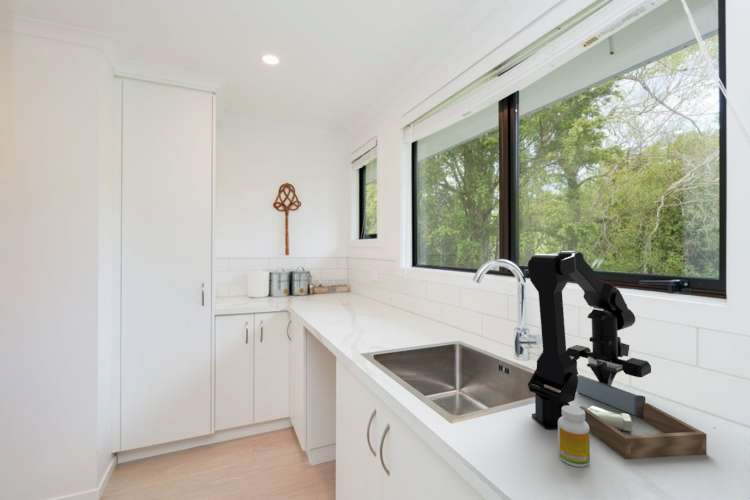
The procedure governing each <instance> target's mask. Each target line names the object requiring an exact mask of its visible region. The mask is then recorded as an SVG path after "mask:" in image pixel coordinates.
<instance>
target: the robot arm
mask: <svg viewBox="0 0 750 500" xmlns="http://www.w3.org/2000/svg"><path fill="white" fill-rule="evenodd" d="M527 271H528V275H529V276H528V277H529V280H530V282H531V284H532V285H533V286H534V288H535V289H536V291H537V293H538V303H539V304H538V305H539V316H540V328H541V329H540V331H541V341H542V352H541V354H540V355H539V357H538V358H537V360H536V369H535V370H534V372H533V374H532V376H531V378H530V379H529V381H528V383H527V386H528V391H529V393H530V392H531V393H534V396H535V397H534V398H535V402H534V404H535V406H534V407H535V408H534V409H535V412H534V413H531V417H532V418H533V419H534V420H536V421H537V423H539V424H540V425H541V426H542V427H543V428H544V429H546V430H553V429H554V430H558V420H559V418H560V417H562V407H563V406H567V405H570V406H571V404H570V403H571V402H574V401H575V399H576V393H577V385H578V377H577V376H578V375H579V372H578V361H577V360H579V359H580V358H585V359H587V361H588V362H587V364H586V367H588V368H590V370H591V371H592V373H593V374H594V375H595V377H596V379H597V381H599V382H601V383H604V384H607V385H610V386H612V384H613V382H614V379H615V378H616V376H617V374H618V373H620V372H621V371H623V373H625V375H629V376H630V377H631V376H632V377H635V378H644V377H645V376H647V375H649V374H651V373H652V365H651V364H650V362H649V361H648V360H644V359H641V358H635V357H630V358H628V359H626V360H624V359H621V358H623V357H626V358H627V357H629V352H630V345H629V344H627V343H623V342H621V340H622V339H621V337H620V336H618V331H621V330H624V329H627V328H630V327H632V326H633V325H634V324H635V322H636V316H635V314H634V312H633V311H632V310H631V309H629V307H628V304H627V303H626V301H625V298H624V297H623V294H622V293H621V291H620V290H619V288H617V287H616V286H614V284H611V283H609V282H606V281H604V280H602V279H601V278H600V276H599V275H598V274H597V273H596V272H595V270H594V269H593V267H591V266H590V264H588V262H587V261H586V260H585V259H584V255H583V253H582V252H580V251H577V250H561V251H558V252H555V253H547V254H546V253H535V254H533V255H532V256H531V258H530V259H529V260H528V262H527ZM570 277H571V278H572V280H573V281H574V282H575V283H576V284H577V285H578V286H579V287H580V289H581V290H582V291H583V292H584V293H583V299H584V301H585V302H586V304H587V306H589V307H591V308H593V309H592V311H590V313H589V314H588V315H587V319H591V336H590V337H589V342H592V343H591V345H592V351H591V348H590V347H588V346H584V345H580V344H579V345H578V344H576V345H572V346H570V347H567V341H566V328H565V316H564V315H565V314H564V303H563V291H564V289H565V288H566V285H567V284H568V282H569V280H570ZM555 389H556V390H555Z"/></svg>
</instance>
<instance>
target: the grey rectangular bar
mask: <svg viewBox="0 0 750 500" xmlns="http://www.w3.org/2000/svg"><path fill="white" fill-rule="evenodd" d="M577 377H578V385H577V390H576V393H578V394H582V395H583V396H585V397H588V398H591V399H594V400H596V401H598V402H601V403H604V404H605V405H609V406H611V407H614V408H615V409H618V410H621V411H623V412H626V413H627V414H630V415H633V416H637V396H638V394H635V393H632V392H629V391H627V390H624V389H620V388H618V387H616V386H613V385H611V386H610V385H607V384H604V383H601V382H599V381H598V380H595V379H594V378H589V377H587V376H585V375H582V374H578V375H577Z"/></svg>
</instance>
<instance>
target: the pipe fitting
mask: <svg viewBox="0 0 750 500" xmlns="http://www.w3.org/2000/svg"><path fill="white" fill-rule="evenodd" d="M587 409H588V410H590V411H591V412H592V413H594V414H595V415H597V416H598V417H600V418H601V419H603V420H604V421H606V422H607V423H609V424H610V425H612V426H613V427H615V428H616V429H617V430H619V431H621V432H622V431H623V432H630V433H631V432H632V431H633V422H632V418H631V416H630V413H623V412H622V413H616V412H614V411H610V410H607V409H604V408H602V407H599V406H596V405H591V406H589V408H587Z"/></svg>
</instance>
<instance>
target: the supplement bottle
mask: <svg viewBox="0 0 750 500" xmlns="http://www.w3.org/2000/svg"><path fill="white" fill-rule="evenodd" d="M579 407H580V406H575V405H571V404H570V405H567V406H563V407H562V417H560V418H559V420H558V429H557V455H558V458H559V459H560V460H561V461H562V462H564V463H565V464H567V465H569V466H572V467H577V468H583V467H587V466H589V464H590V459H591V457H590V456H591V455H590V454H591V451H590V450H591V449H590V448H591V446H590V443H591V442H590V433H591V432H590V430H589V425H588V424H587V422H586V421H585V411H584V410H583V409H581V408H579Z"/></svg>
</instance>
